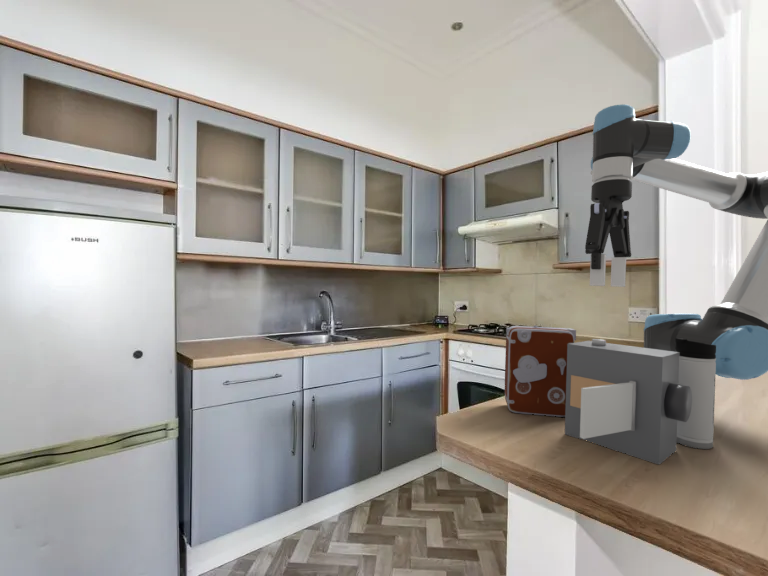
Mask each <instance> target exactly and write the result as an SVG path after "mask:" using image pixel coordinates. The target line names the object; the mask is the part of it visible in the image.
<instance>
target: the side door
mask: <svg viewBox="0 0 768 576" xmlns="http://www.w3.org/2000/svg"><path fill="white" fill-rule="evenodd" d="M635 404H636V382H635V381H629V383H620V384H611V385H603V386H594V387H586V388H581V416H580V438H583V439H586V438H591V437H596V436H601V435H607V434H612V433H617V432H622V431H628V430H630V431H635Z"/></svg>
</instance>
